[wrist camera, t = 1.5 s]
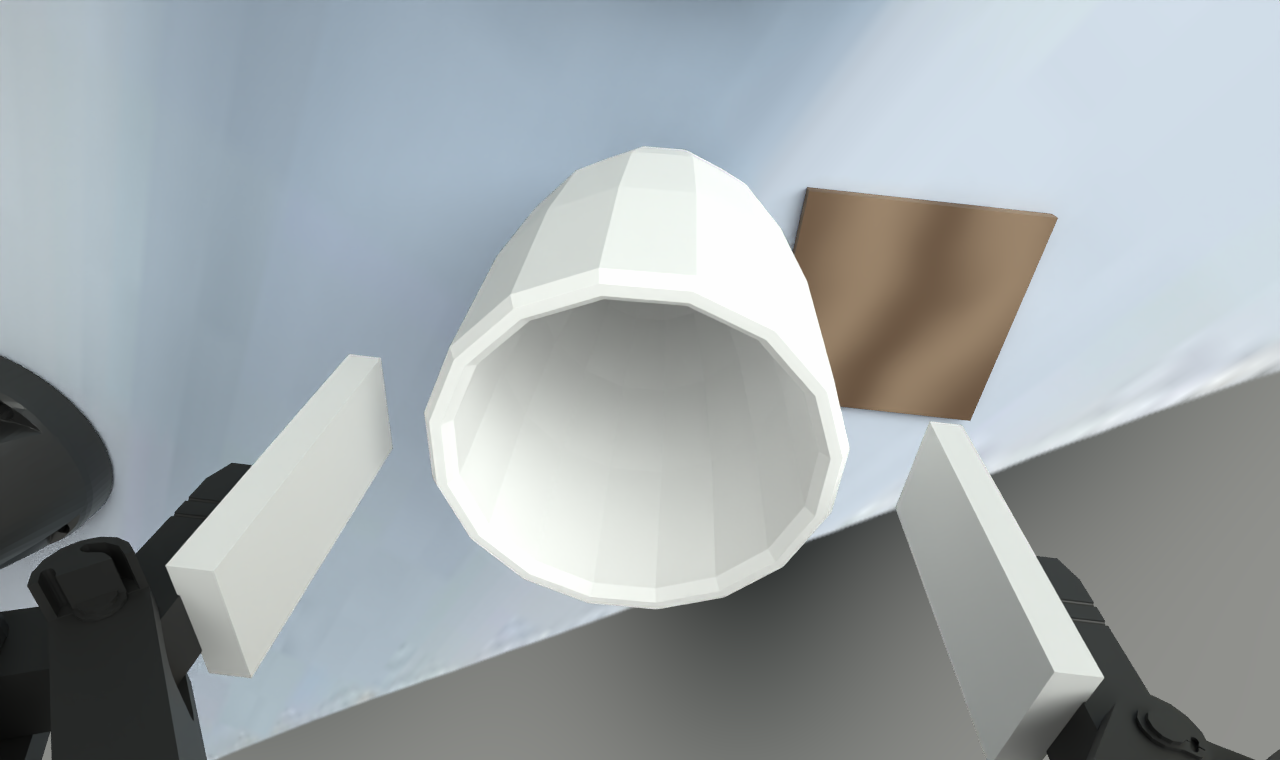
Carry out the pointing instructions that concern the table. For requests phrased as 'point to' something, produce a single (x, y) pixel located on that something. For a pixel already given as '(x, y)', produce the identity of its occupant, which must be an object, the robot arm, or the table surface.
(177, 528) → the robot arm
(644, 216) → the cup
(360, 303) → the table surface
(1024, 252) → the coaster
